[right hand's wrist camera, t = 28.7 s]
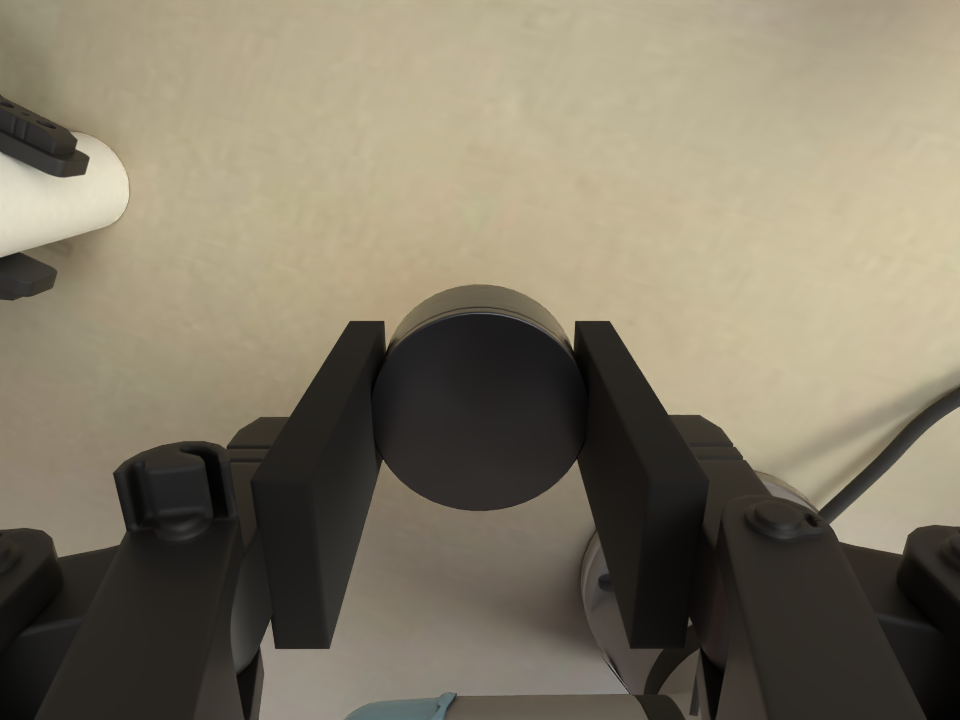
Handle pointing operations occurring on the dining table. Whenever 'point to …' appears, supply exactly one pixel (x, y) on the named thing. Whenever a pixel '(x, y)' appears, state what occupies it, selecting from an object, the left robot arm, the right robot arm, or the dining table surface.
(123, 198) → the bottle
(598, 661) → the dining table surface
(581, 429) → the cap
